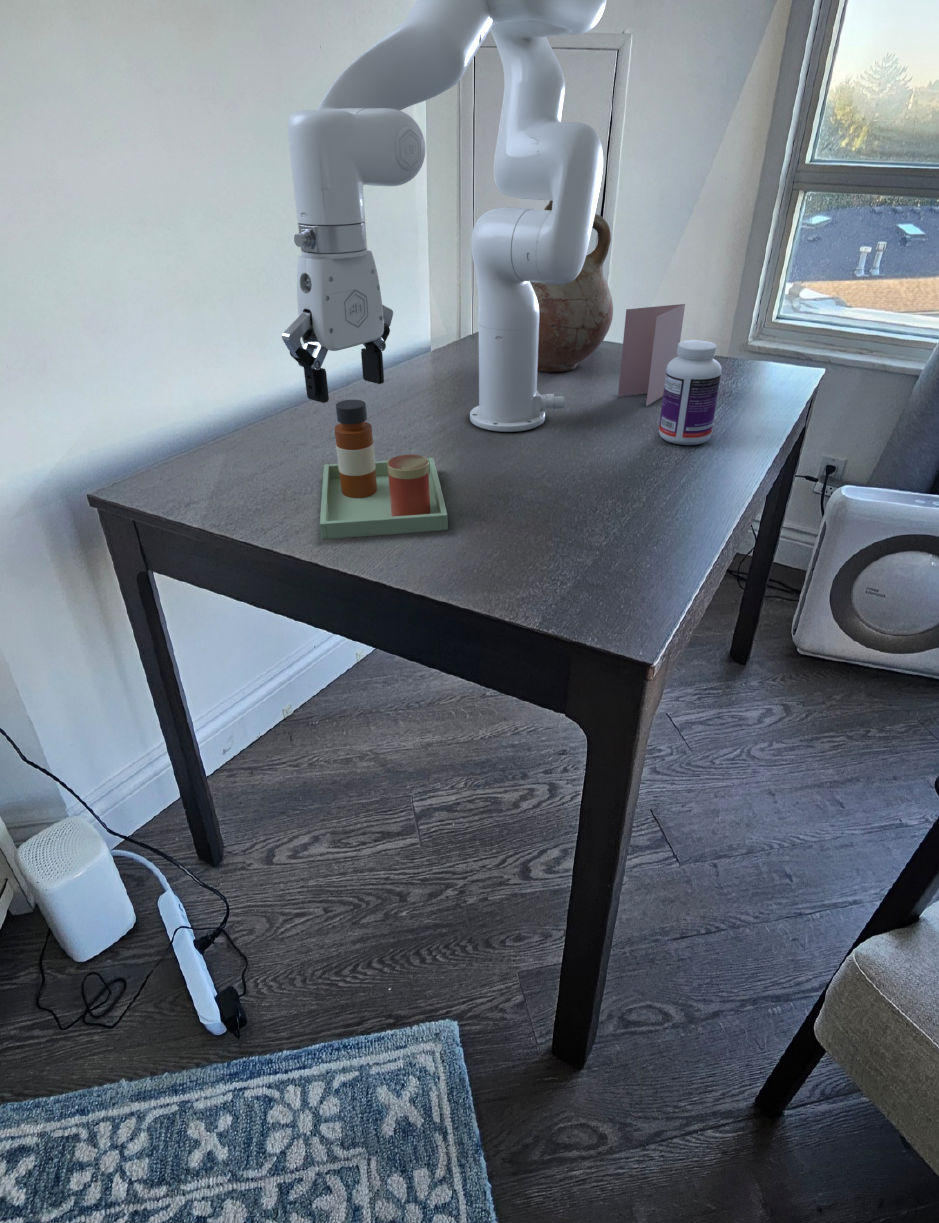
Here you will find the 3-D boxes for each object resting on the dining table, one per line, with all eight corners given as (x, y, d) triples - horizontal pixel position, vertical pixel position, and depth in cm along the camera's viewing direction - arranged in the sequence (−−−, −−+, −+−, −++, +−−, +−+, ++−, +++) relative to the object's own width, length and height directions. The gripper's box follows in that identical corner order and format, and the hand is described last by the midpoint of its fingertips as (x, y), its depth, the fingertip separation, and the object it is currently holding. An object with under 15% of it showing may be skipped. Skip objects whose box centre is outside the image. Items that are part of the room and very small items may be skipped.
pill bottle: (714, 433, 121) (730, 340, 113) (705, 450, 115) (721, 354, 107) (663, 426, 123) (676, 335, 115) (652, 443, 117) (664, 348, 109)
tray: (434, 474, 108) (433, 457, 107) (448, 533, 93) (447, 514, 92) (326, 481, 107) (323, 464, 105) (322, 543, 92) (319, 523, 90)
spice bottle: (376, 482, 105) (369, 397, 98) (378, 497, 101) (370, 409, 94) (341, 484, 105) (331, 398, 98) (341, 499, 100) (330, 411, 94)
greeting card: (670, 388, 140) (682, 302, 132) (692, 400, 134) (706, 311, 126) (615, 395, 137) (623, 308, 129) (635, 407, 131) (645, 317, 123)
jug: (501, 351, 163) (503, 192, 146) (601, 351, 162) (614, 191, 145) (501, 381, 145) (503, 205, 128) (614, 381, 144) (631, 203, 127)
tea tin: (429, 503, 99) (426, 452, 95) (432, 520, 95) (430, 468, 91) (390, 506, 99) (386, 455, 95) (392, 523, 94) (388, 471, 91)
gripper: (297, 251, 78) (316, 414, 87) (408, 235, 89) (414, 380, 99) (250, 246, 82) (273, 402, 91) (363, 230, 93) (372, 370, 103)
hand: (346, 390), depth 95 cm, fingers open, 9 cm apart
